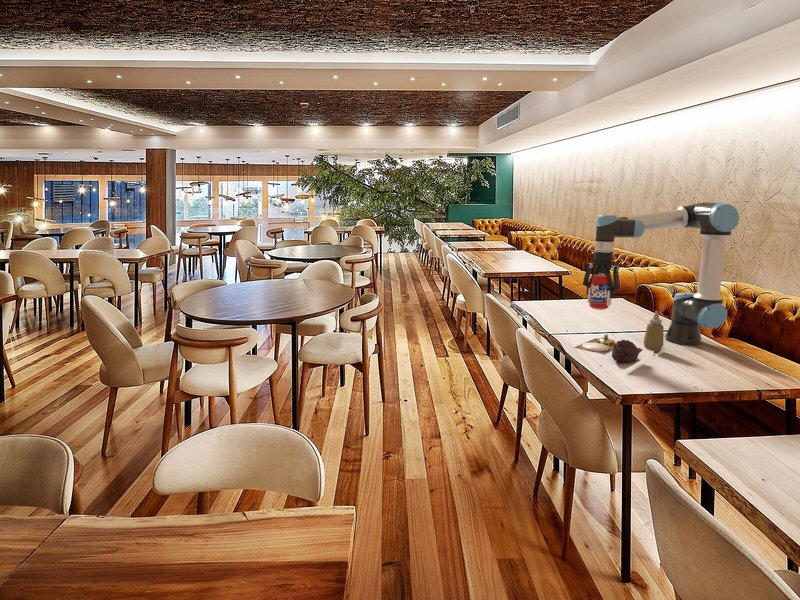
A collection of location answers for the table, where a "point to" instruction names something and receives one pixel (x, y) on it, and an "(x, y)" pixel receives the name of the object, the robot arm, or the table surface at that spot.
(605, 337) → the brass gear
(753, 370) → the table surface
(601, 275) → the soda can
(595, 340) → the gear board
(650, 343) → the squeeze bottle
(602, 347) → the ceramic plate
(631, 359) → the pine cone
